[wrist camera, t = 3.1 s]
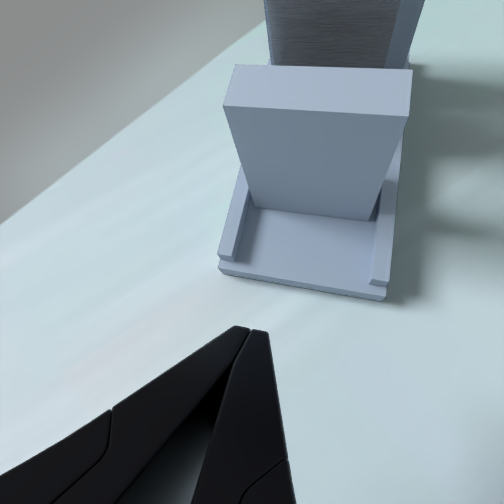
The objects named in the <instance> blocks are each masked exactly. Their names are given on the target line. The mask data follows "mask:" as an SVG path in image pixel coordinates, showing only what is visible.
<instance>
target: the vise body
mask: <svg viewBox="0 0 504 504" xmlns="http://www.w3.org/2000/svg"><path fill="white" fill-rule="evenodd" d="M424 1H425V0H401V2H400V6H399V10H398V14H397V18H396V22H395V26H394V30H393V34H392V38H391V42H390V46H389V50H388V54H387V58H386V62H385V66H384V69H409V66H410V63H409V62H408V61H409V50H410V46H411V43H412V40H413V36H414V33H415V30H416V27H417V24H418V20H419V17H420V14H421V11H422V8H423V4H424ZM264 8H265V16H266V25H267V33H268V41H269V50H270V58H271V59H269V61H268V65H274V59H273V50H272V41H271V32H270V23H269V14H268V5H267V0H264ZM402 140H403V133H402V135H401V138H400V140H399V143H398V146H397V148H396V151H395V153H394V156H393V158H392V161H391V163H390V166H389V169H388V171H387V174H386V176H385V179H384V181H383V184H382V187H381V189H380V192H379V194H378V197H377V199H376V202H375V205H374V207H373V210H372V212H371V215H370V217H369V220H368V221H360V220H352V219H344V218H336V217H328V216H320V215H312V214H305V213H297V212H289V211H281V210H273V209H265V208H257V207H255V206H254V203H253V199H252V196H251V193H250V190H249V187H248V184H247V181H246V177H245V174H244V171H243V168H242V165H241V166H240V170H239V173H238V177H237V181H236V185H235V188H234V192H233V196H232V200H231V203H230V207H229V211H228V215H227V218H226V222H225V226H224V230H223V233H222V237H221V241H220V245H219V248H218V252H217V254H218V256H219V257H220V261H219V265H218V269H219V270H220V271H221V272H222V273H223V274H227V275H233V276H239V277H244V278H250V279H256V280H261V281H267V282H273V283H278V284H284V285H290V286H295V287H301V288H307V289H312V290H318V291H324V292H329V293H335V294H341V295H347V296H352V297H358V298H364V299H369V300H375V301H382V300H383V299H384V298H385V297H386V291H387V284H388V283H389V279H390V268H391V257H392V247H393V236H394V225H395V215H396V204H397V193H398V183H399V172H400V161H401V151H402Z"/></svg>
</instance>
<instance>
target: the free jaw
mask: <svg viewBox="0 0 504 504" xmlns="http://www.w3.org/2000/svg"><path fill="white" fill-rule="evenodd" d="M412 75H413V70H409V69H376V68H343V67H309V66H276V65H243V64H235V67H234V70H233V73H232V77H231V80H230V83H229V86H228V90H227V93H226V96H225V99H224V103H223V108H224V111H225V114H226V118H227V121H228V124H229V127H230V130H231V133H232V136H233V140H234V143H235V146H236V149H237V152H238V155H239V158H240V162H241V165H242V168H243V171H244V174H245V177H246V181H247V184H248V187H249V190H250V193H251V196H252V199H253V203H254V206H255V207H257V208H265V209H273V210H281V211H289V212H297V213H305V214H312V215H320V216H328V217H336V218H344V219H352V220H360V221H368V220H369V217H370V215H371V212H372V210H373V207H374V205H375V202H376V199H377V197H378V194H379V192H380V189H381V187H382V184H383V181H384V179H385V176H386V174H387V171H388V169H389V166H390V163H391V161H392V158H393V156H394V153H395V151H396V148H397V146H398V143H399V140H400V138H401V135H402V133H403V130H404V128H405V125H406V122H407V120H408V117H409V109H410V98H411V87H412Z"/></svg>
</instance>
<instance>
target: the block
mask: <svg viewBox="0 0 504 504" xmlns="http://www.w3.org/2000/svg"><path fill="white" fill-rule="evenodd" d="M400 2H401V0H267V5H268V14H269V23H270V32H271V41H272V50H273V59H274V65H276V66H309V67H343V68H376V69H384V66H385V62H386V58H387V54H388V50H389V46H390V42H391V38H392V34H393V30H394V26H395V22H396V18H397V14H398V10H399V6H400Z"/></svg>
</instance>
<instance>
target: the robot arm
mask: <svg viewBox="0 0 504 504" xmlns="http://www.w3.org/2000/svg"><path fill="white" fill-rule="evenodd" d="M0 504H296V499H295V493H294V488H293V483H292V477H291V471H290V464H289V461H288V453H287V447H286V440H285V434H284V428H283V421H282V415H281V409H280V402H279V396H278V390H277V384H276V377H275V371H274V365H273V358H272V352H271V346H270V339H269V334H268V332H266V331H261V330H256V329H253V330H250V329H249V328H246V327H241V326H233V327H231V328H230V329H228V330H227V331H225V332H224V333H222V334H221V335H219V336H218V337H216V338H215V339H213V340H212V341H210V342H209V343H207V344H206V345H204V346H203V347H201V348H200V349H198V350H197V351H195V352H194V353H192V354H191V355H189V356H188V357H186V358H185V359H183V360H182V361H180V362H179V363H177V364H176V365H174V366H173V367H171V368H170V369H168V370H167V371H166V372H164V373H163V374H161V375H160V376H158V377H157V378H155V379H154V380H152V381H151V382H149V383H148V384H146V385H145V386H143V387H142V388H140V389H139V390H137V391H136V392H134V393H133V394H131V395H130V396H128V397H127V398H125V399H124V400H122V401H121V402H119V403H118V404H116V405H115V406H113V408H112V410H110V409H109V410H107V411H106V412H104V413H103V414H101V415H100V416H98V417H97V418H95V419H94V420H92V421H91V422H89V423H88V424H86V425H84V426H83V427H81V428H80V429H78V430H77V431H75V432H74V433H72V434H70V435H69V436H67V437H66V438H64V439H63V440H61V441H59V442H57V443H56V444H54V445H52V446H51V447H49V448H47V449H46V450H44V451H42V452H40V453H39V454H37V455H35V456H34V457H32V458H30V459H29V460H27V461H25V462H23V463H21V464H20V465H18V466H16V467H14V468H13V469H11V470H9V471H7V472H5V473H4V474H2V475H0Z"/></svg>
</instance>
